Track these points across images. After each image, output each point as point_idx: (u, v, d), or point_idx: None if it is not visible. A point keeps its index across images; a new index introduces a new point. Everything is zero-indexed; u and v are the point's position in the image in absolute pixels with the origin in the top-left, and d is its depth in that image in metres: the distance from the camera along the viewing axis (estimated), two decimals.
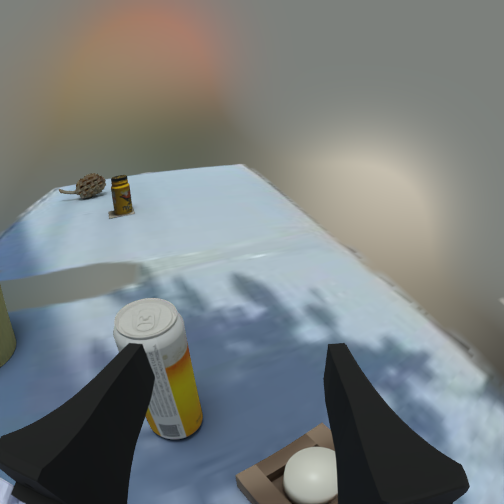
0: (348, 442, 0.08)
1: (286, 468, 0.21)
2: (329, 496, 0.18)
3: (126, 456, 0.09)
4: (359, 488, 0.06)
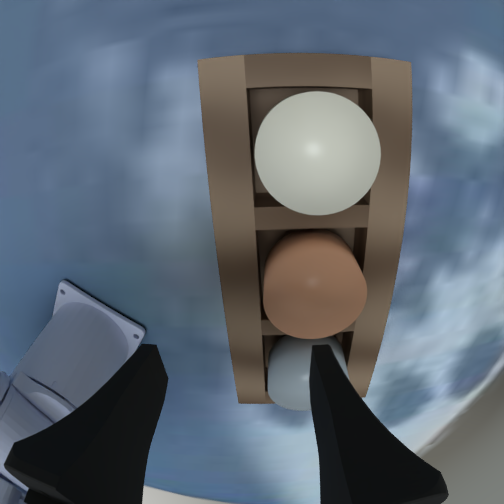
0: (328, 444, 0.08)
1: (275, 110, 0.11)
2: None
3: (141, 459, 0.09)
4: (336, 491, 0.06)
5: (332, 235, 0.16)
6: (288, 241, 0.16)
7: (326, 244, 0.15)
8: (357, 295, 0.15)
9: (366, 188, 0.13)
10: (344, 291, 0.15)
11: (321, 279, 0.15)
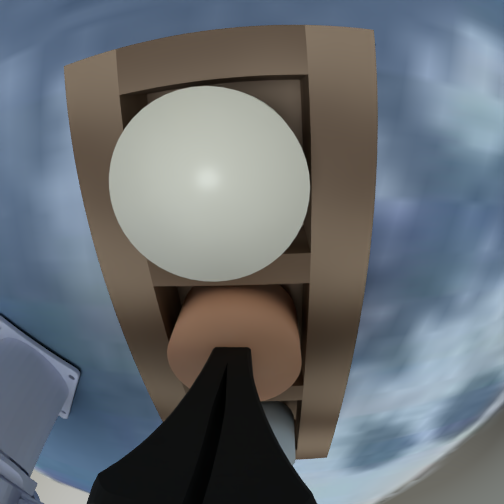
0: None
1: (130, 127, 0.07)
2: None
3: None
4: None
5: None
6: (201, 289, 0.12)
7: (242, 297, 0.11)
8: (288, 361, 0.11)
9: (287, 240, 0.08)
10: (269, 357, 0.11)
11: (235, 342, 0.11)
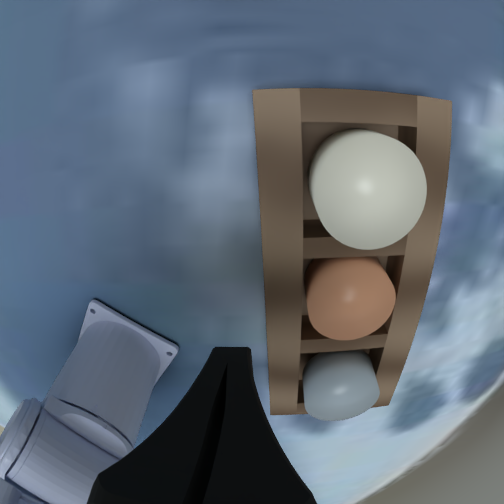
0: None
1: (337, 152, 0.12)
2: None
3: None
4: None
5: None
6: None
7: (363, 259, 0.17)
8: (387, 302, 0.17)
9: (411, 225, 0.13)
10: (377, 298, 0.17)
11: (359, 288, 0.17)
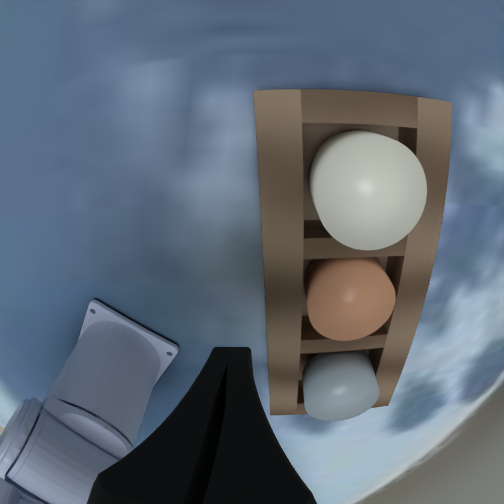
0: None
1: (337, 153, 0.12)
2: None
3: None
4: None
5: None
6: None
7: (363, 259, 0.17)
8: (387, 302, 0.17)
9: (412, 226, 0.13)
10: (377, 299, 0.17)
11: (359, 289, 0.17)
